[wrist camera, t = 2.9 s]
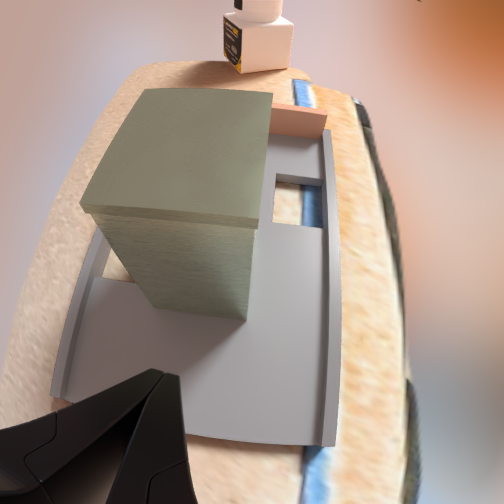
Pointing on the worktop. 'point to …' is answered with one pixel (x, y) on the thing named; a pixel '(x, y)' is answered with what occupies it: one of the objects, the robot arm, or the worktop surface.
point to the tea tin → (186, 196)
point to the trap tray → (231, 330)
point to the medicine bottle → (257, 36)
